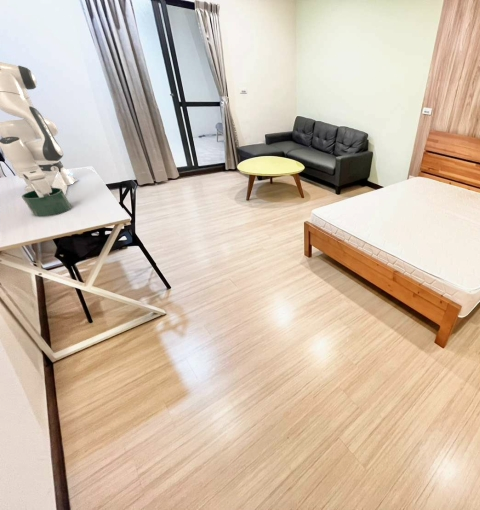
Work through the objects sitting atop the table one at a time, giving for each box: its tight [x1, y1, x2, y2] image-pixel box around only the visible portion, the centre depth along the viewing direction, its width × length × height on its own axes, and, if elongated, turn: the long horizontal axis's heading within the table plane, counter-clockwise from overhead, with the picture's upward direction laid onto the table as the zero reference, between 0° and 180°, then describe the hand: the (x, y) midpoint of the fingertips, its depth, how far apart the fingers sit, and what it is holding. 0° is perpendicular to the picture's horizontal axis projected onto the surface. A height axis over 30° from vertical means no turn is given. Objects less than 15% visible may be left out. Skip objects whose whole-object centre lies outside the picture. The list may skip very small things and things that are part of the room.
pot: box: [21, 188, 72, 218], centre depth 143 cm, size 15×15×10 cm
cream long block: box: [24, 170, 68, 195], centre depth 158 cm, size 32×11×11 cm, turn 36°
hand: (45, 198), depth 142 cm, fingers closed on tube, 4 cm apart
